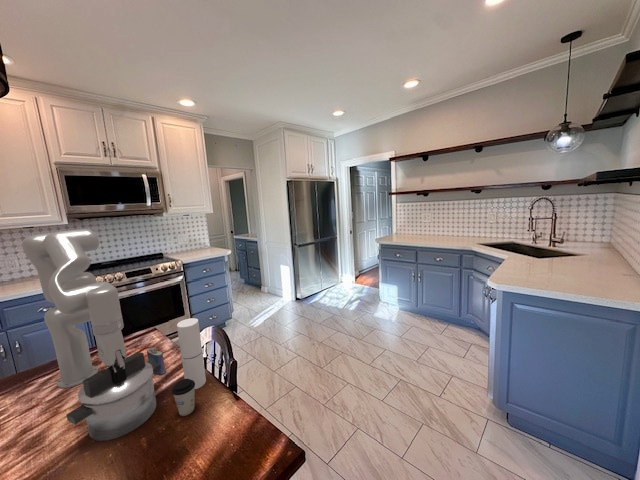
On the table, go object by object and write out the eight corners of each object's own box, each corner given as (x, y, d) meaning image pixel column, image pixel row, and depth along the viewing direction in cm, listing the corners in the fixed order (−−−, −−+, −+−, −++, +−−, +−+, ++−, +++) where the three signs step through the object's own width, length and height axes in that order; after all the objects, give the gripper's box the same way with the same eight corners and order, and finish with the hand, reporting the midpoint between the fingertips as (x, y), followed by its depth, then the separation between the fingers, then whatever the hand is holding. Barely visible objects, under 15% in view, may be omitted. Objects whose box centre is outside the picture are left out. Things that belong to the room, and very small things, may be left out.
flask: (167, 372, 109) (163, 348, 108) (159, 376, 107) (155, 352, 105) (154, 366, 114) (150, 343, 112) (147, 370, 111) (143, 347, 110)
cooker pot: (60, 440, 79) (52, 405, 78) (144, 384, 103) (140, 355, 101) (96, 460, 72) (87, 422, 71) (177, 395, 96) (173, 365, 94)
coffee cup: (193, 399, 94) (190, 373, 92) (201, 409, 89) (197, 382, 87) (172, 410, 89) (168, 384, 87) (179, 422, 84) (174, 394, 82)
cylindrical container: (198, 390, 98) (189, 327, 94) (181, 388, 99) (172, 326, 95) (209, 377, 105) (202, 318, 101) (193, 376, 106) (185, 317, 102)
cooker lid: (101, 413, 73) (97, 394, 72) (65, 395, 81) (61, 377, 80) (165, 371, 90) (163, 355, 89) (131, 359, 98) (128, 344, 97)
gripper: (84, 324, 84) (95, 376, 87) (102, 338, 75) (113, 396, 78) (113, 315, 90) (121, 364, 93) (132, 327, 81) (142, 381, 84)
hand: (118, 378), depth 85 cm, fingers closed on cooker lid, 3 cm apart
